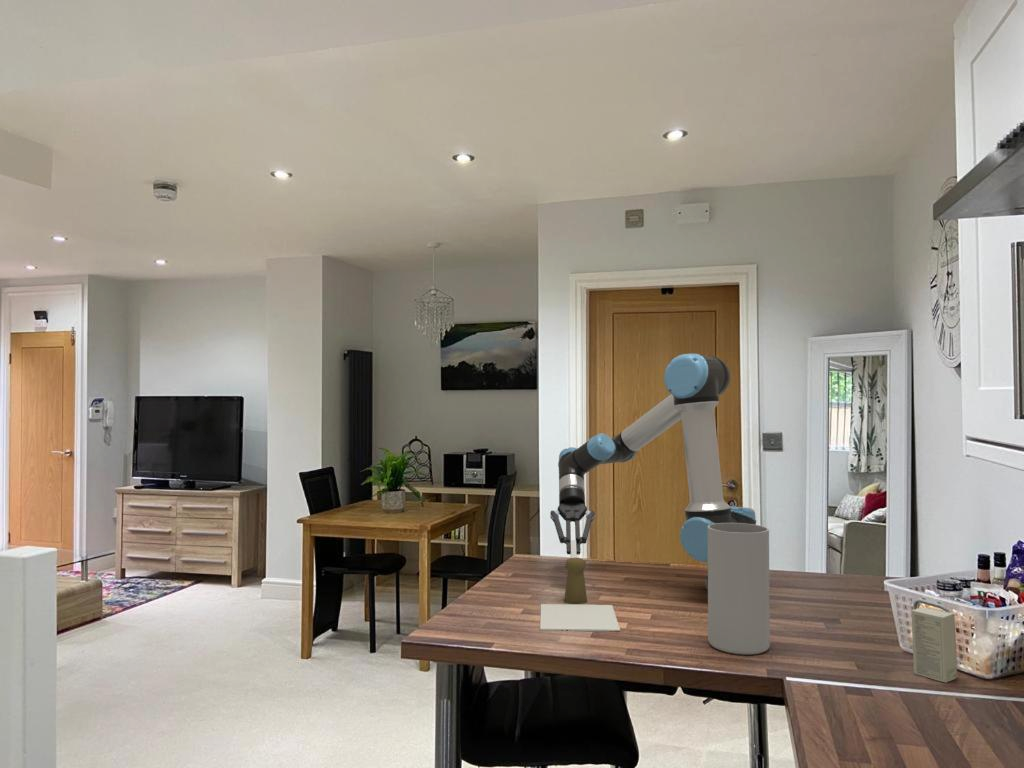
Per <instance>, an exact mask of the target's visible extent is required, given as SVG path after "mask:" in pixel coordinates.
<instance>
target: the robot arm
mask: <svg viewBox="0 0 1024 768" xmlns="http://www.w3.org/2000/svg"><path fill="white" fill-rule="evenodd" d="M731 378H732V377H731V371H730V368H729V366H728V365H727V363H726V362H725V361H724V360H722V359H721V358H719V357H718V356H715V355H709V354H708V355H706V354H699V353H683V354H679V355H678V356H676V357H674V358H672V360H670V362H669V364H668V365H667V366H666V368H665V370H664V375H663V381H664V386H665V388H666V391H667V392H669V393H670V395H668V396H666V397H665V398H664V399H663V400H662V401H660V402H659V403H657V404H656V405H655V406H654V407H652V408H651V409H650V410H649V411H647V412H646V413H644V414H643V415H642V416H640V417H639V418H637V420H635V421H634V422H632V423H631V424H630V425H628V426H627V427H626V428H625V429H623V430H622V431H621V432H620V433H618V434H617V435H615V436H614V437H610V436H609V435H608V434H606V433H602V432H601V433H598V434H596V435H595V436H592V437H590V438H589V440H587V441H586V442H584V444H582V445H580V446H579V447H572V446H571V447H568V448H563V449H562V450H561V451H560V452H559V455H558V462H557V465H558V492H559V493H558V507H557V509H556V510H550V512H549V513H550V515H549V516H550V519H551V520H552V522H553V523H554V527H555V530H556V534H557V537H558V541H559V543H560V544H565V545H566V554H567V555H570V558H578V557H577V556H578V555H580V554H581V545H582V544H584V545H586V544H587V541H588V536H589V533H590V527H591V524H592V522H593V521H594V519H595V518H596V517H595V515H596V514H595V513H596V511H594V510H588V507H587V505H586V496H585V495H586V493H585V490H586V489H585V475H586V474H587V473H588V472H590V471H592V470H593V469H594V468H596V467H597V466H599V465H606V464H615V463H626V462H628V461H631V460H633V459H634V458H635V457H636V454H637V452H638V451H640V450H641V449H642V448H644V447H645V446H646V445H648V444H650V443H651V442H652V441H653V440H655V439H656V438H657V437H659V436H660V435H661V434H663V433H664V432H666V431H667V430H669V429H670V428H671V427H672V426H674V425H675V424H676V423H678V422H679V421H681V425H682V434H683V436H682V437H683V444H684V445H683V446H684V455H685V464H686V467H685V468H686V474H687V475H686V476H687V486H688V493H689V494H688V495H689V503H688V505H687V506H686V507H685V509H684V513H685V521H684V523H683V525H682V526H681V528H680V530H679V531H680V532H679V540H680V543H681V546H682V548H683V549H684V551H685V553H686V554H688V556H690V557H691V558H692V559H694V560H696V561H698V562H701V563H708V525H711V524H716V523H744V524H754V525H757V518H756V512H755V510H754V509H753V508H750V507H745V506H744V507H743V506H732V505H729V504H728V503H727V502H726V501H725V499H724V493H723V492H724V491H723V490H724V489H723V483H722V472H721V464H720V453H719V444H718V435H717V426H716V424H717V423H716V417H715V408H716V407H717V406H718V404H719V403H720V398H719V397H721V396H722V395H723V394H724V393H725V392H726V390H727V389H728V388H729V386H730V383H731ZM560 517H561V518H562V519H563V520H564V521H565V534H564V531H563V528H562V524H561V521H560ZM584 517H585V518H586V521H585V523H584V524H585V525H584V528H583V532H582V536H581V526H580V521H582V519H583V518H584ZM572 522H574V531H575V532H574V535H575V540H572V535H571V533H572V530H571V529H572V528H571V526H572V525H571V523H572ZM704 583H705V585H704V586H705V587H704V588H705V590H706V591H708V573H707V575H706V577H705V582H704Z"/></svg>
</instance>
